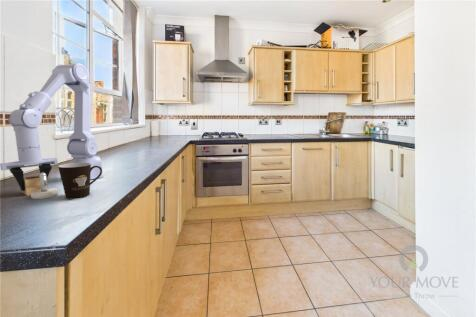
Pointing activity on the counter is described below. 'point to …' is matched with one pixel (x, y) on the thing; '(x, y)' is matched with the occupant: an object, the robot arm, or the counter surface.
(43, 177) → the silver metal cylinder
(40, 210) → the counter surface
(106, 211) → the counter surface
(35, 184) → the hollow wooden cube
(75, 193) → the coffee mug
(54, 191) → the lacing stand
